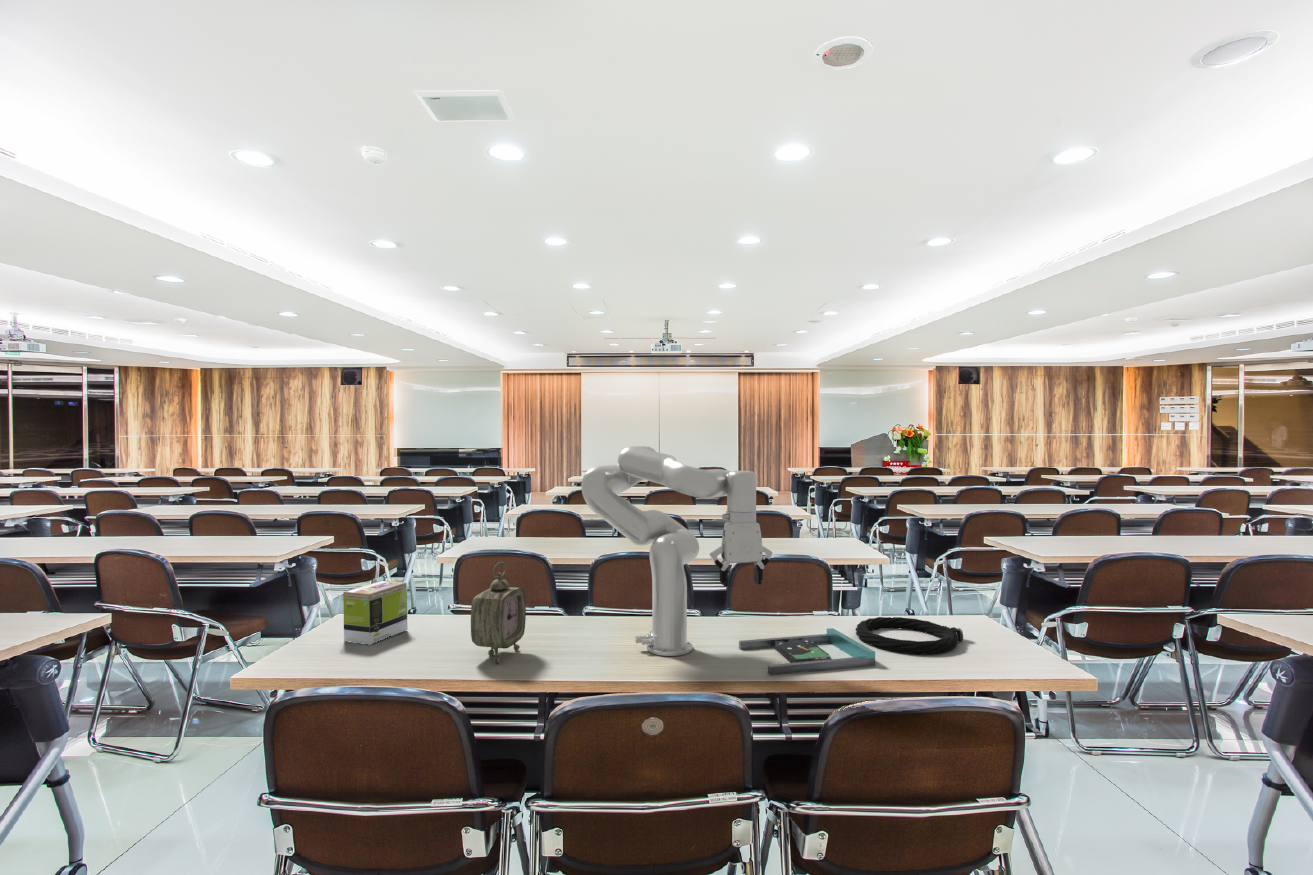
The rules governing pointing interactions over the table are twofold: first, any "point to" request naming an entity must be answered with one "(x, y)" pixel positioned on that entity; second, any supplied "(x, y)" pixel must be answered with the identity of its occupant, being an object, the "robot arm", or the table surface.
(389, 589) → the tea box
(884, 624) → the cable lock
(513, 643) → the tabletop clock
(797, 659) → the disk drive
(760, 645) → the guide track
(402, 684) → the table surface
